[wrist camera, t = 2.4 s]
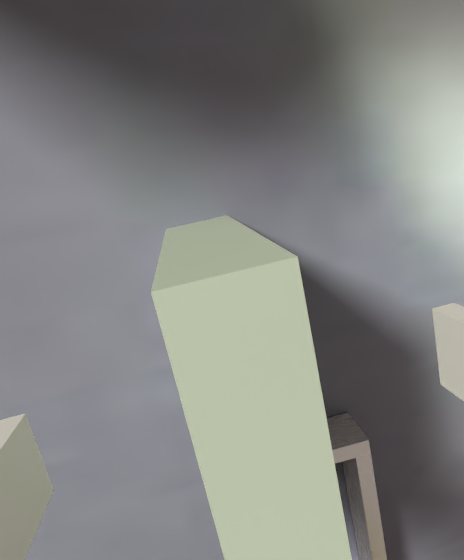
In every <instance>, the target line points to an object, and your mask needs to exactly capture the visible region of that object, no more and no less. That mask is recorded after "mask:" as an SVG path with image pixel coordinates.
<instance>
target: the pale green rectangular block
mask: <svg viewBox="0 0 464 560" xmlns="http://www.w3.org/2000/svg"><path fill="white" fill-rule="evenodd" d="M151 294H152V297H153V301H154V304H155V308H156V312H157V315H158V319H159V323H160V326H161V330H162V334H163V337H164V341H165V344H166V348H167V352H168V355H169V359H170V363H171V366H172V370H173V374H174V377H175V381H176V384H177V388H178V392H179V395H180V399H181V403H182V406H183V410H184V414H185V417H186V421H187V424H188V428H189V432H190V435H191V439H192V443H193V446H194V450H195V454H196V457H197V461H198V464H199V468H200V472H201V475H202V479H203V483H204V486H205V490H206V494H207V497H208V501H209V504H210V508H211V512H212V515H213V519H214V523H215V526H216V530H217V533H218V537H219V541H220V544H221V548H222V552H223V555H224V559H225V560H352V558H351V552H350V547H349V541H348V535H347V530H346V524H345V519H344V513H343V507H342V502H341V496H340V491H339V485H338V479H337V474H336V468H335V463H334V457H333V451H332V446H331V440H330V435H329V429H328V423H327V418H326V412H325V407H324V401H323V396H322V390H321V384H320V379H319V373H318V368H317V362H316V356H315V351H314V345H313V340H312V334H311V328H310V323H309V317H308V312H307V306H306V300H305V295H304V289H303V284H302V278H301V272H300V267H299V261H298V256H296V255H294V254H292V253H291V252H289V251H287V250H286V249H284V248H282V247H280V246H279V245H277V244H275V243H274V242H272V241H270V240H269V239H267V238H265V237H263V236H262V235H260V234H258V233H257V232H255V231H253V230H252V229H250V228H248V227H246V226H245V225H243V224H241V223H240V222H238V221H236V220H235V219H233V218H231V217H229V216H228V215H226V216H221V217H217V218H212V219H208V220H204V221H199V222H195V223H191V224H186V225H182V226H178V227H173V228H169V229H166V231H165V235H164V240H163V244H162V248H161V252H160V257H159V261H158V265H157V269H156V273H155V278H154V282H153V286H152V290H151Z"/></svg>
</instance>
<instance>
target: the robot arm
mask: <svg viewBox="0 0 464 560" xmlns="http://www.w3.org/2000/svg"><path fill="white" fill-rule="evenodd" d="M432 312H433V321H434V330H435V339H436V348H437V357H438V366H439V375H440V384H441V385H442V386H443V387H445V388H446V389H448V390H449V391H450V392H452V393H453V394H454V395H456V396H457V397H459V398H460V399H461V400H463V401H464V307H463V306H460V305H458V304H455V303H452V304H448V305H444V306H440V307H436V308H433V309H432ZM53 491H54V489H53V486H52V483H51V481H50V478H49V475H48V473H47V470H46V467H45V465H44V462H43V459H42V457H41V454H40V451H39V449H38V446H37V443H36V440H35V438H34V435H33V432H32V430H31V427H30V424H29V422H28V419H27V416H26V414H21V415H18V416H14V417H10V418H6V419H2V420H0V560H25V558H26V555H27V553H28V551H29V548H30V546H31V543H32V541H33V539H34V536H35V534H36V531H37V529H38V527H39V524H40V522H41V520H42V517H43V515H44V512H45V510H46V508H47V505H48V503H49V501H50V498H51V496H52V493H53Z"/></svg>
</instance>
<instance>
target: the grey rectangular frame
mask: <svg viewBox="0 0 464 560" xmlns="http://www.w3.org/2000/svg"><path fill="white" fill-rule="evenodd" d="M327 423H328V429H329V435H330V440H331V446H332V451H333V457H334V463H339V462H342V463H343V469H344V474H345V480H346V486H347V492H348V497H349V503H350V509H351V515H352V521H353V526H354V532H355V538H356V544H357V549H358V555H359V560H387V556H386V550H385V543H384V536H383V530H382V523H381V517H380V510H379V504H378V497H377V490H376V484H375V477H374V471H373V464H372V458H371V451H370V444H369V439H368V438H367V437H366V436H365V434H364V433H363V432H362V430H361V429H360V428H359V426H358V425H357V424H356V422H355V421H354V420H353V418H352V417H351V416H350V414H349V413H348V412H347V413H344V414H340V415H336V416H333V417H329V418H327Z"/></svg>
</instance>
